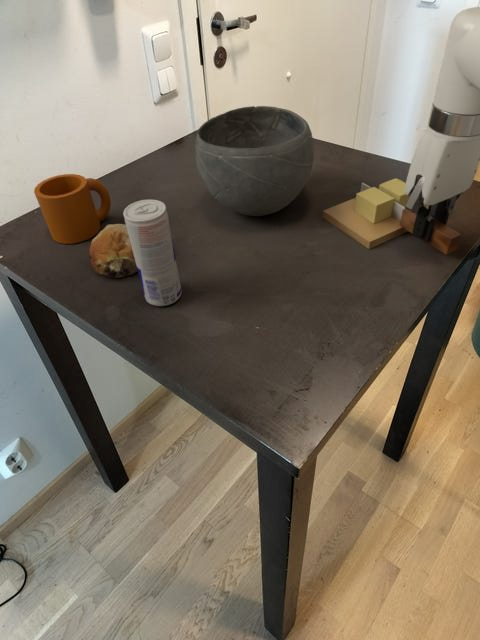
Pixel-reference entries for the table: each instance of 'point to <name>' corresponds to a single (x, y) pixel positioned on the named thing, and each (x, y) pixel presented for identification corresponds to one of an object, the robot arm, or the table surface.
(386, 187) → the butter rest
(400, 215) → the knife
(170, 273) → the beverage can
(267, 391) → the table surface
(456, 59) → the robot arm
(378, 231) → the board
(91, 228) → the mug
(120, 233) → the bread roll
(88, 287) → the table surface
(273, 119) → the bowl
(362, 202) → the butter piece
